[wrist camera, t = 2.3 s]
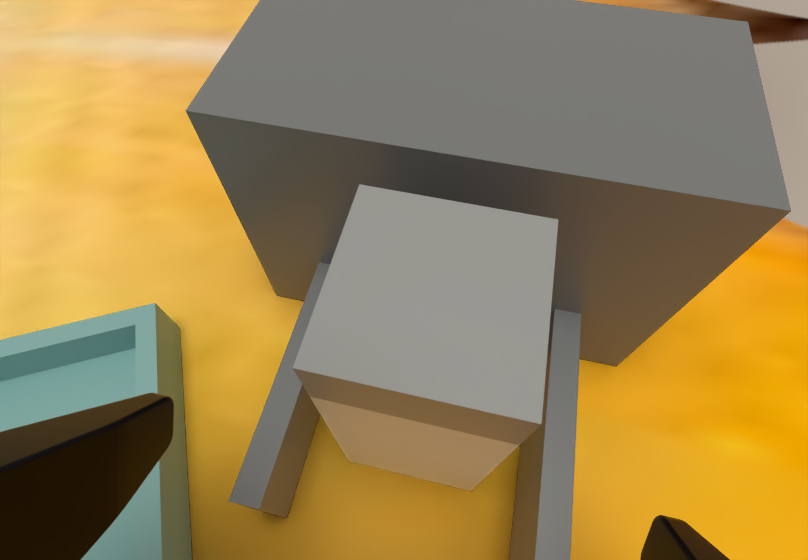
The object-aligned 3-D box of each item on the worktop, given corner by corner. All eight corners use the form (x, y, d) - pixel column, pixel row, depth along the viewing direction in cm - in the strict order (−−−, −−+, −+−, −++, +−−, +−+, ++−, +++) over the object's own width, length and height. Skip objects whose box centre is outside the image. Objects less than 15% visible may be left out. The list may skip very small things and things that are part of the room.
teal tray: (193, 589, 17) (162, 594, 15) (-139, 696, 15) (-228, 719, 13) (179, 327, 22) (155, 303, 20) (-72, 389, 21) (-127, 370, 18)
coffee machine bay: (615, 604, 17) (895, 670, 7) (194, 493, 18) (-29, 428, 9) (617, 225, 25) (747, 21, 15) (327, 174, 27) (284, -36, 17)
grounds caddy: (471, 491, 19) (541, 424, 9) (348, 461, 19) (292, 368, 10) (488, 371, 21) (558, 219, 11) (379, 348, 22) (359, 184, 12)
